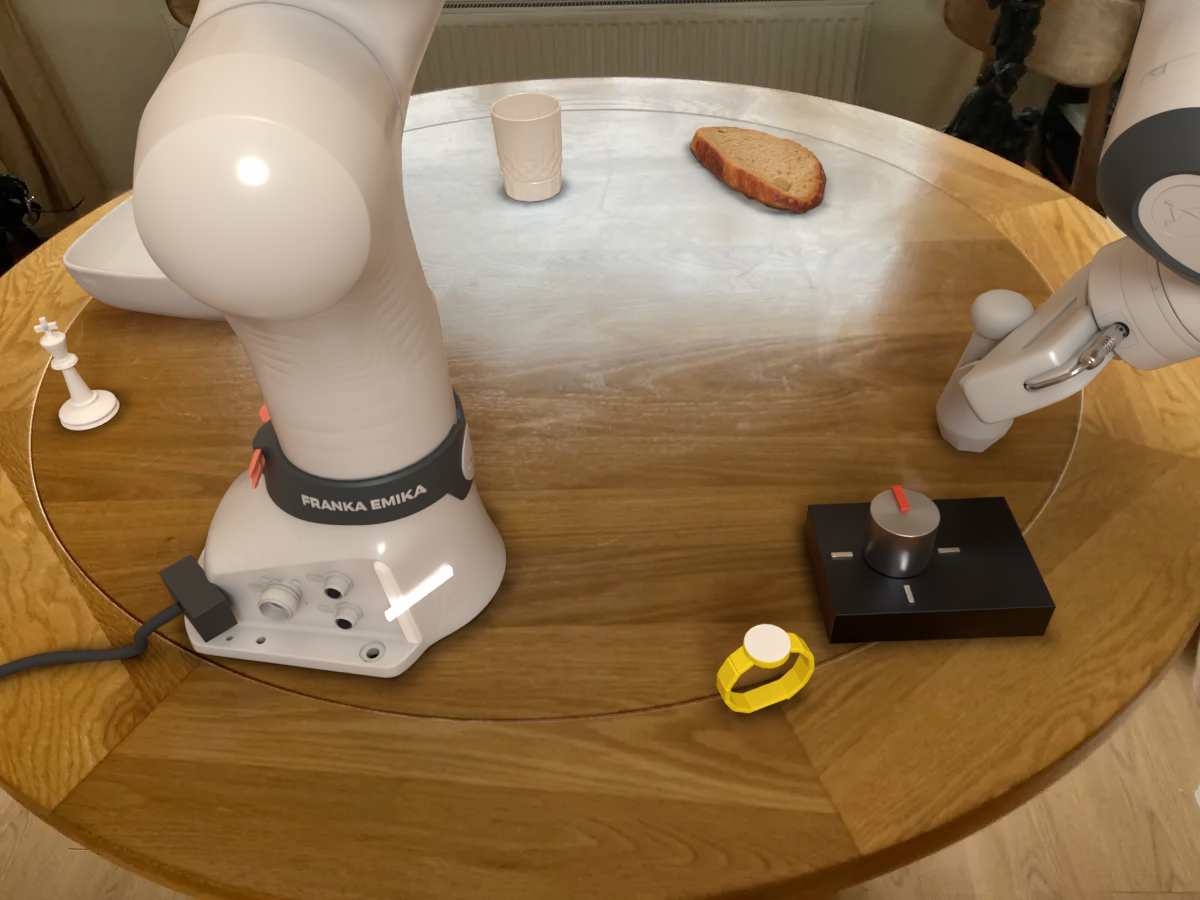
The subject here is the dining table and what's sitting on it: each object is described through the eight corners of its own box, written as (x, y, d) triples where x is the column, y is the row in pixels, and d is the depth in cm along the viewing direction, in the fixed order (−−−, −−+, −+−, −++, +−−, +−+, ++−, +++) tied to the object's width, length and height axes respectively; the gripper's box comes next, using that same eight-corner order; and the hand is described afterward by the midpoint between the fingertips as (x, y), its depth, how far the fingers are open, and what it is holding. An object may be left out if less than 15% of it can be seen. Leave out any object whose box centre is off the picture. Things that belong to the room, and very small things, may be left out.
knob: (937, 575, 63) (950, 530, 60) (871, 580, 63) (881, 535, 60) (917, 527, 66) (928, 482, 64) (854, 531, 66) (863, 487, 64)
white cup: (486, 189, 114) (476, 107, 107) (538, 168, 118) (530, 86, 111) (528, 211, 109) (520, 126, 103) (580, 188, 113) (575, 104, 106)
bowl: (68, 328, 95) (34, 261, 90) (181, 227, 110) (157, 165, 105) (252, 350, 91) (228, 280, 86) (345, 242, 106) (328, 177, 101)
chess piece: (61, 403, 86) (11, 310, 80) (119, 389, 87) (74, 296, 81) (59, 436, 83) (7, 341, 76) (119, 421, 84) (73, 327, 77)
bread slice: (696, 136, 122) (696, 107, 120) (839, 149, 118) (843, 120, 115) (658, 201, 110) (658, 170, 107) (817, 219, 105) (820, 187, 103)
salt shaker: (1009, 464, 75) (1054, 326, 66) (932, 456, 76) (967, 319, 68) (1001, 416, 79) (1042, 281, 71) (929, 410, 80) (961, 275, 72)
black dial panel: (830, 644, 63) (835, 613, 61) (803, 533, 71) (807, 502, 69) (1043, 635, 63) (1057, 605, 61) (994, 525, 70) (1004, 494, 68)
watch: (795, 667, 62) (804, 609, 58) (816, 702, 60) (827, 644, 56) (709, 695, 61) (713, 637, 57) (728, 732, 59) (733, 674, 55)
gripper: (1111, 417, 57) (930, 465, 68) (1233, 276, 67) (1058, 338, 79) (1058, 326, 56) (885, 390, 68) (1190, 198, 67) (1020, 273, 78)
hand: (979, 361), depth 73 cm, fingers open, 4 cm apart
